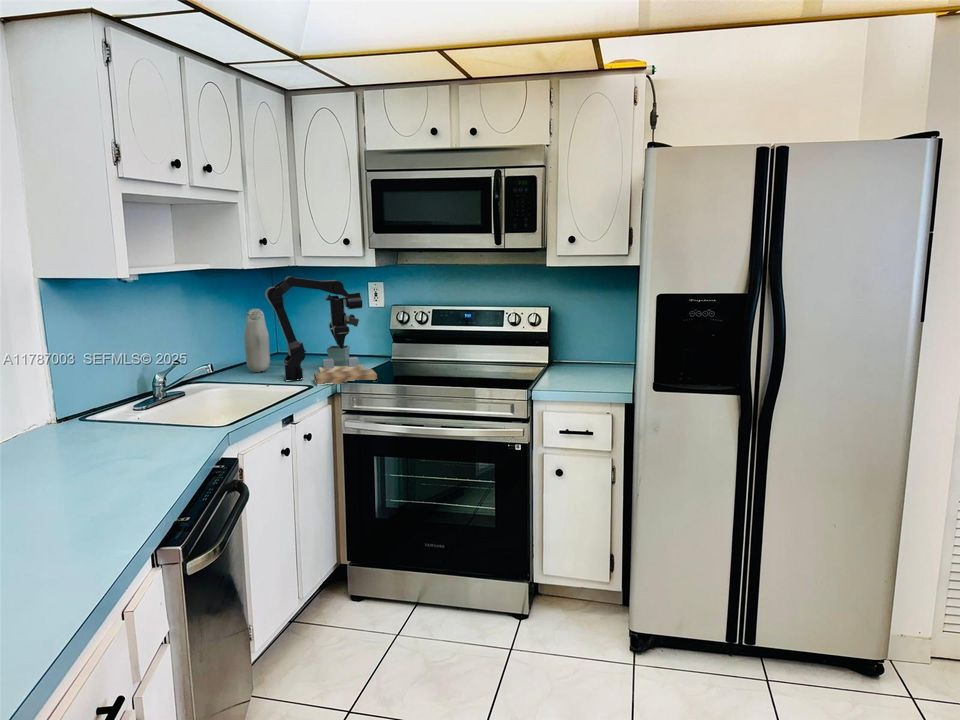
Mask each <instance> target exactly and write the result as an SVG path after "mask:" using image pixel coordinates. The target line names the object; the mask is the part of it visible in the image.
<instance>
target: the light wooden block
mask: <svg viewBox="0 0 960 720" xmlns="http://www.w3.org/2000/svg"><path fill="white" fill-rule="evenodd" d="M358 365H359V367H348V364H346V365H345V366H334V368H333V369H324V367H323V366H322V367H321V366H319V367H318V373H327V372H341V371H354V370H364V366H363V364H358Z"/></svg>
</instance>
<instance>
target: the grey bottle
mask: <svg viewBox="0 0 960 720" xmlns="http://www.w3.org/2000/svg"><path fill="white" fill-rule="evenodd" d="M243 333H244V336H243V337H244V338H243V341H244V351H245V352H244V353H245V362H246V366H247V368H248V369H249V370H250V371H252V372H254V373H262V372H261V371H263V372H264V371H266V370H267V369H268V368H269V366H270V364H271V352H270V336H269V331H268V328H267V324H266V319H265V314H264V311H263V310H261V309H260V308H250V309H249V310H247V311H246V315H245V327H244V332H243Z"/></svg>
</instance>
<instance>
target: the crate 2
mask: <svg viewBox="0 0 960 720" xmlns="http://www.w3.org/2000/svg"><path fill="white" fill-rule="evenodd" d="M347 361H348V362H347V365H348V367H359V365H360V364H359V358H358V357H357V356H353V357H350V356H349V358H347Z"/></svg>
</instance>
